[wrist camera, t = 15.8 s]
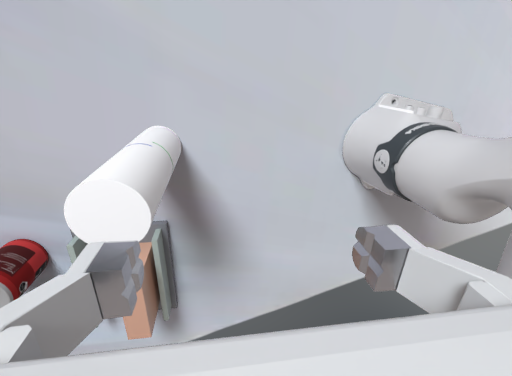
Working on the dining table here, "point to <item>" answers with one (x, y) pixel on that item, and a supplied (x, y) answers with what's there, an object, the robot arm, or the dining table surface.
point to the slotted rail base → (161, 258)
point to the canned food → (19, 268)
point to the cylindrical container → (124, 189)
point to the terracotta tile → (145, 298)
